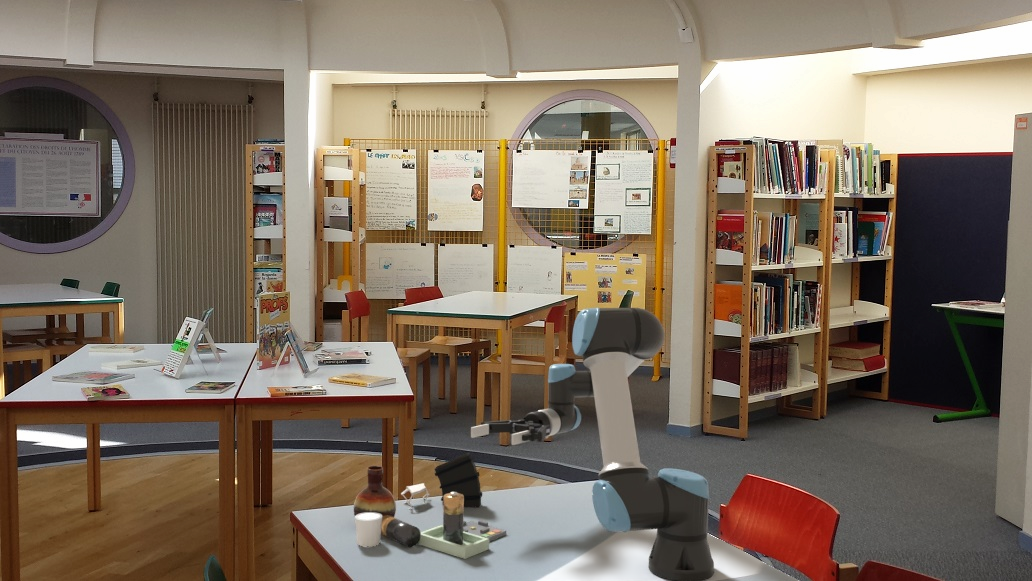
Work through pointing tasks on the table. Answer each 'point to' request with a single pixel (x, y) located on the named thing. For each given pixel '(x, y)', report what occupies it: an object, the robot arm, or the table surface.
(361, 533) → the white cup
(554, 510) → the table surface
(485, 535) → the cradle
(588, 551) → the table surface
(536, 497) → the table surface
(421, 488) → the white legged piece
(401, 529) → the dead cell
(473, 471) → the magazine
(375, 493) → the vase
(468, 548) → the trough
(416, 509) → the table surface
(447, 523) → the cell
